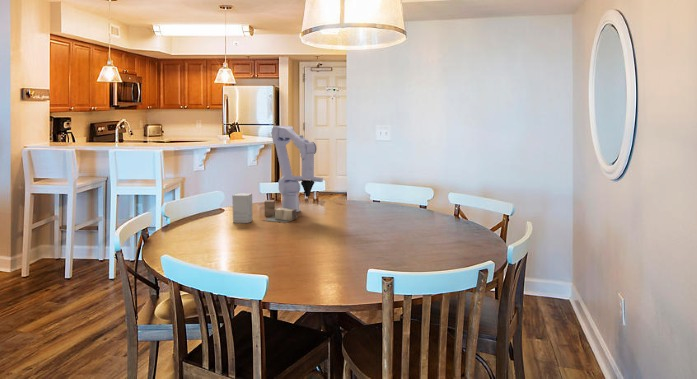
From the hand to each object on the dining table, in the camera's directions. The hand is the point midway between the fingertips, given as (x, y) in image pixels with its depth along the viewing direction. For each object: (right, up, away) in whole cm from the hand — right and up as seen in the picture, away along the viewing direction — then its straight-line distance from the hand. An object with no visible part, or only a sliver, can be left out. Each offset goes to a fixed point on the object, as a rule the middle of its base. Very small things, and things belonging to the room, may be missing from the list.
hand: (307, 196), depth 236 cm
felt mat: (-12, -11, -2) cm, 16 cm away
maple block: (-6, -9, -4) cm, 11 cm away
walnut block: (-19, -9, +7) cm, 23 cm away
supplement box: (-29, -12, -9) cm, 32 cm away
